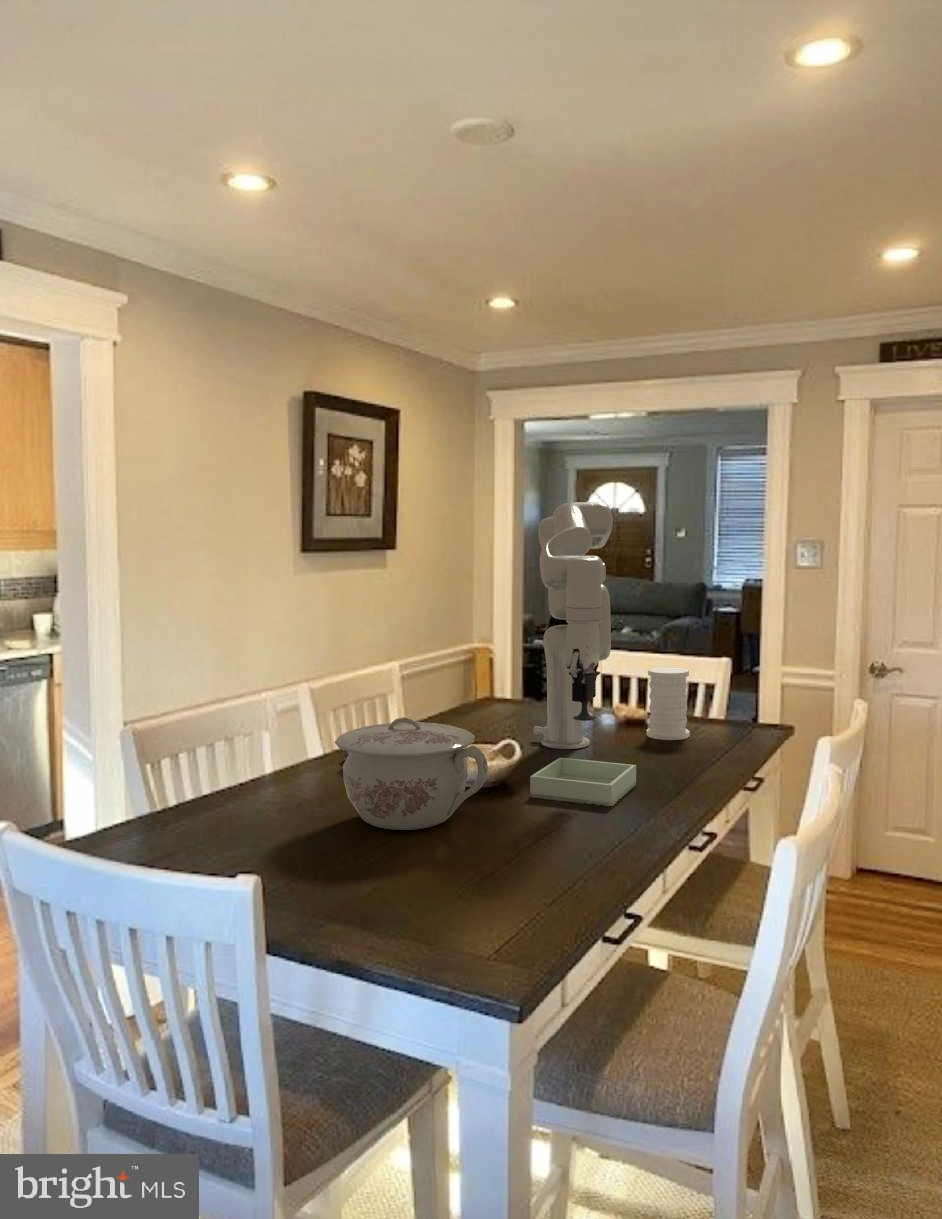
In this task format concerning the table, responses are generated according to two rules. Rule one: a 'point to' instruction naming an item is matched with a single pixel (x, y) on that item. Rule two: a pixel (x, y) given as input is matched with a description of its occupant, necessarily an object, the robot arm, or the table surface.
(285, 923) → the table surface
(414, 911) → the table surface
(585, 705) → the sundae
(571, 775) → the box
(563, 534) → the robot arm
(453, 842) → the table surface
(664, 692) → the decorative container
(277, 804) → the table surface
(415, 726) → the chamber pot
